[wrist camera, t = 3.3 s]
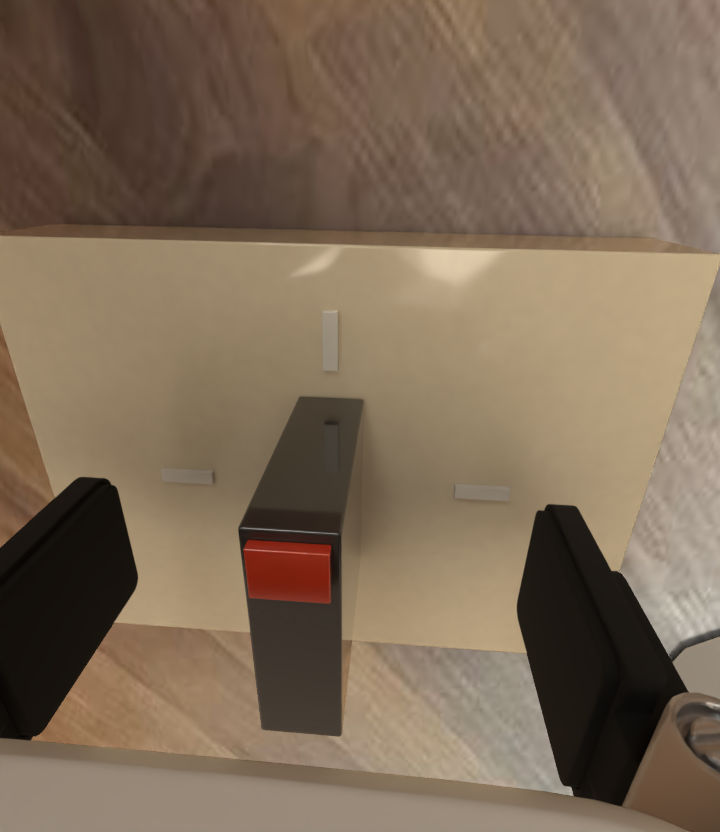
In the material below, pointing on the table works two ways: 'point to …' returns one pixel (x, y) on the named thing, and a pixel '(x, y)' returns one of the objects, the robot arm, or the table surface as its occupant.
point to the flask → (701, 667)
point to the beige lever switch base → (353, 397)
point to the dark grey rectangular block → (306, 566)
